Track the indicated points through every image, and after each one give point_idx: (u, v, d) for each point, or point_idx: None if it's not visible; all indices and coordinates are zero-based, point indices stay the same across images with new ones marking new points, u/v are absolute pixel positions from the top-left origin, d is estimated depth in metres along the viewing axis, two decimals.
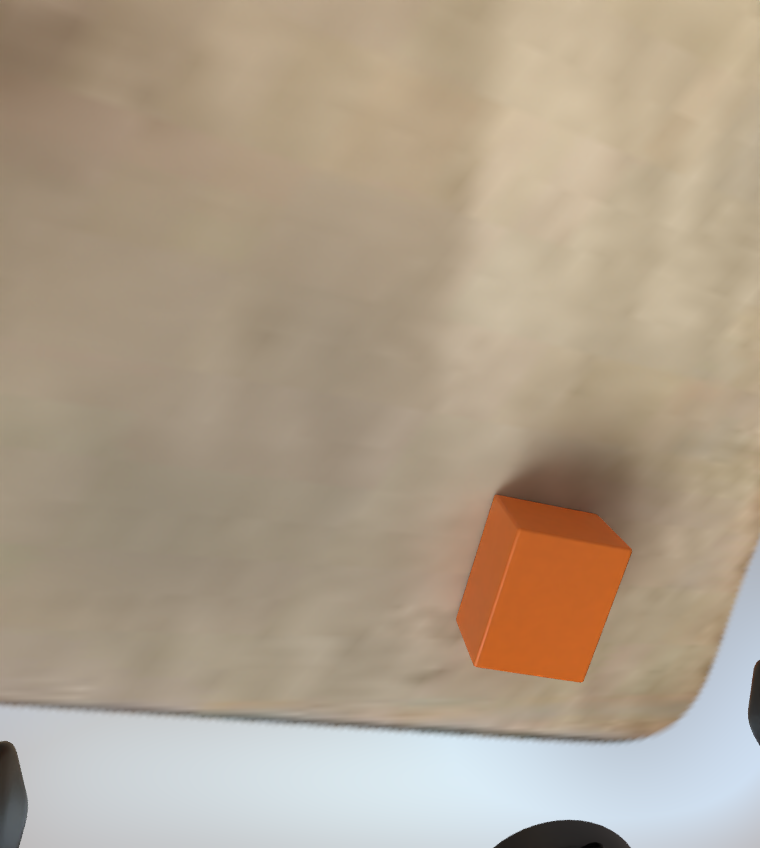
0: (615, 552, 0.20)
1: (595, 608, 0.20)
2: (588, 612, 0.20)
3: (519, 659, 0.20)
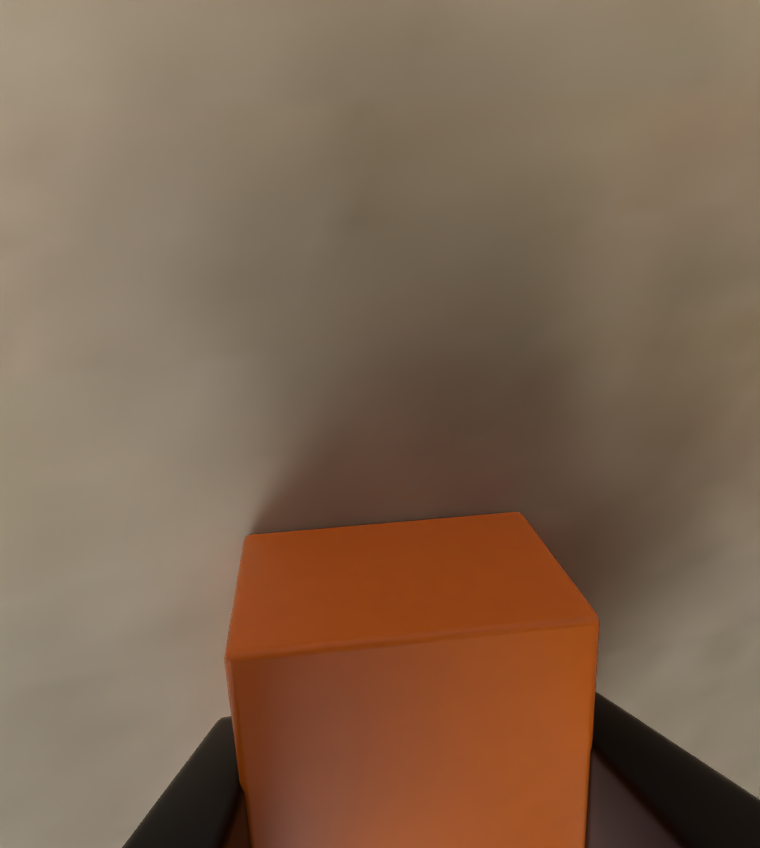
0: (549, 638, 0.07)
1: (544, 794, 0.07)
2: (529, 809, 0.07)
3: None
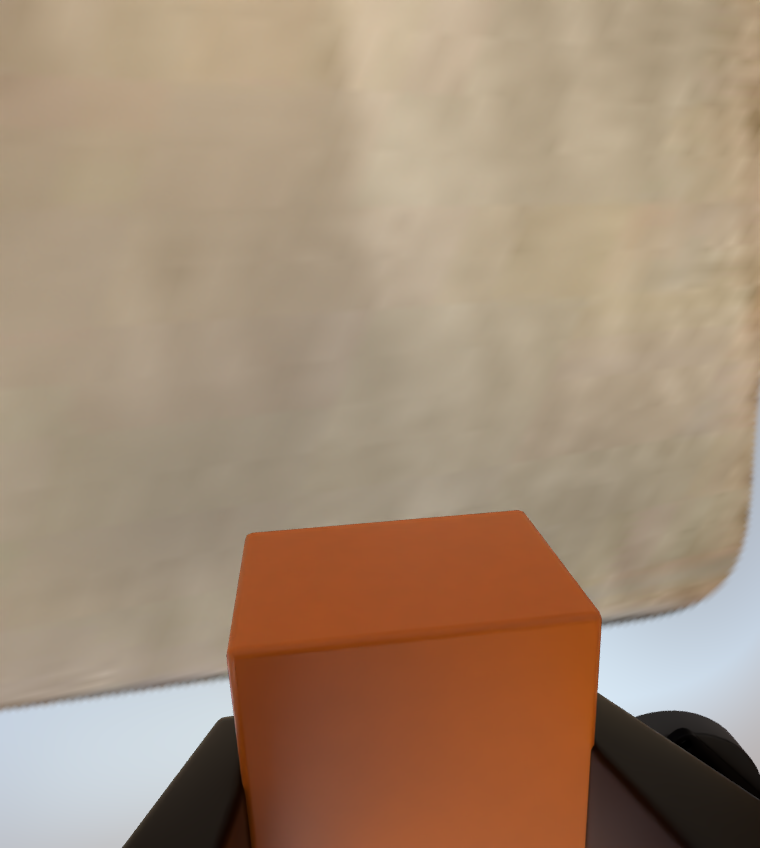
0: (552, 636, 0.06)
1: (546, 794, 0.07)
2: (531, 807, 0.07)
3: None
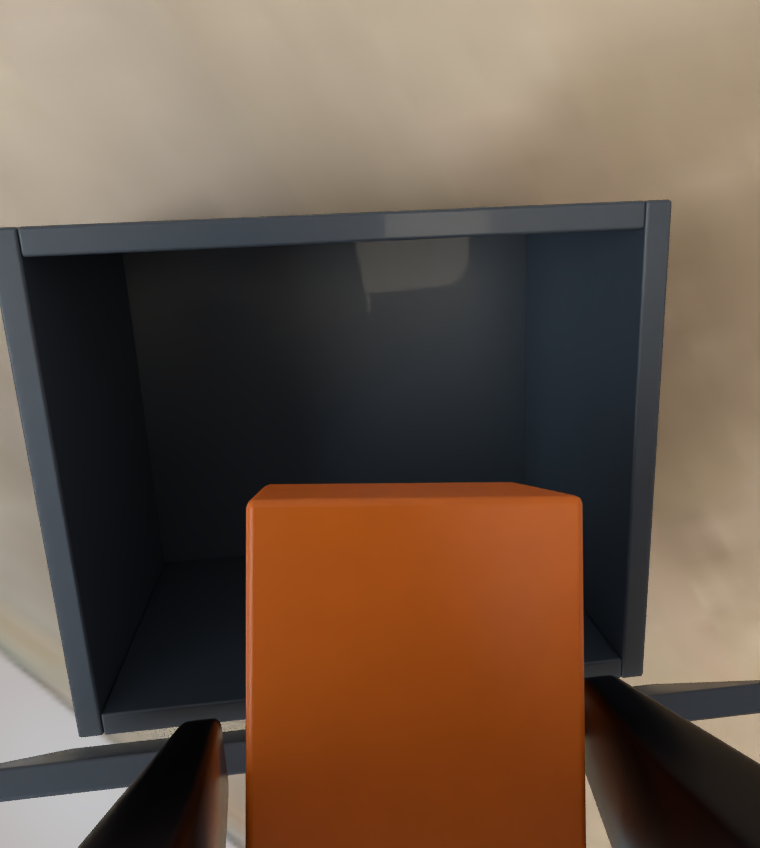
0: (537, 514, 0.07)
1: (540, 691, 0.07)
2: (525, 706, 0.07)
3: None
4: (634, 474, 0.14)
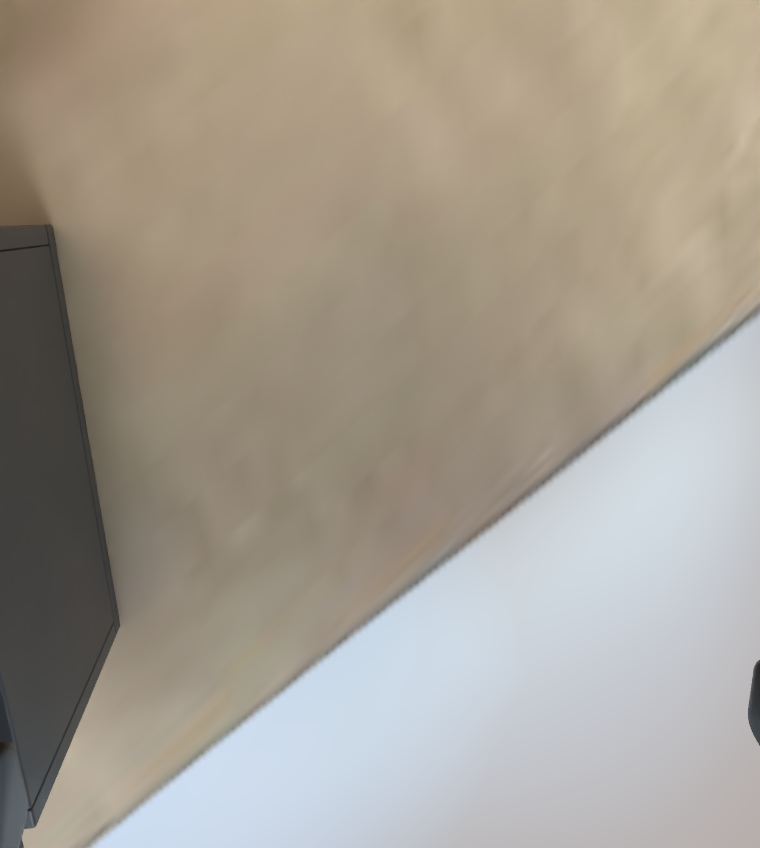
0: None
1: None
2: None
3: None
4: None
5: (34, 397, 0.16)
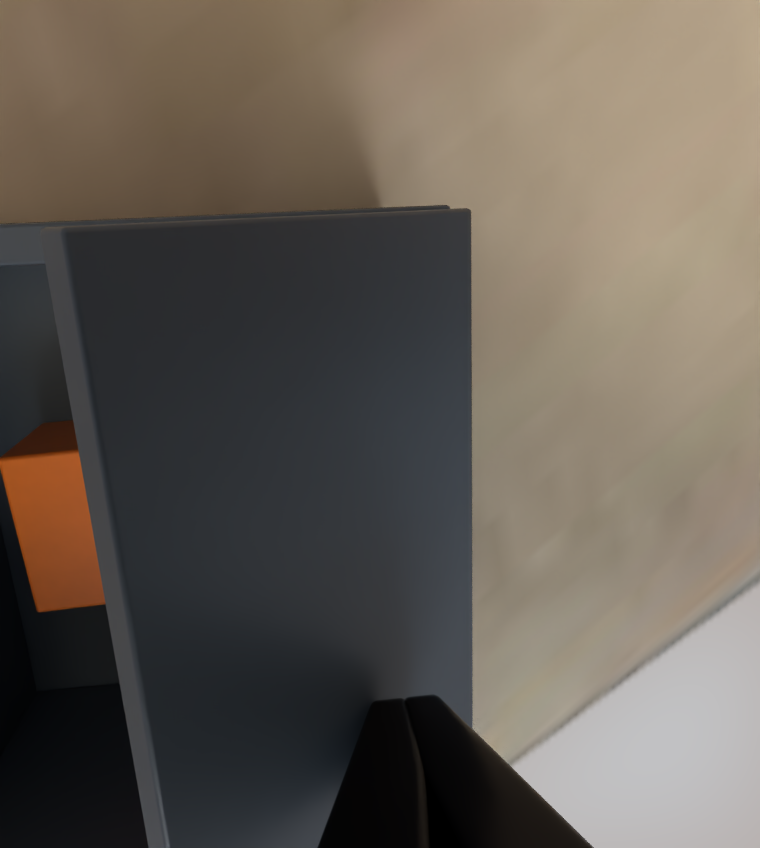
0: None
1: None
2: None
3: None
4: None
5: None
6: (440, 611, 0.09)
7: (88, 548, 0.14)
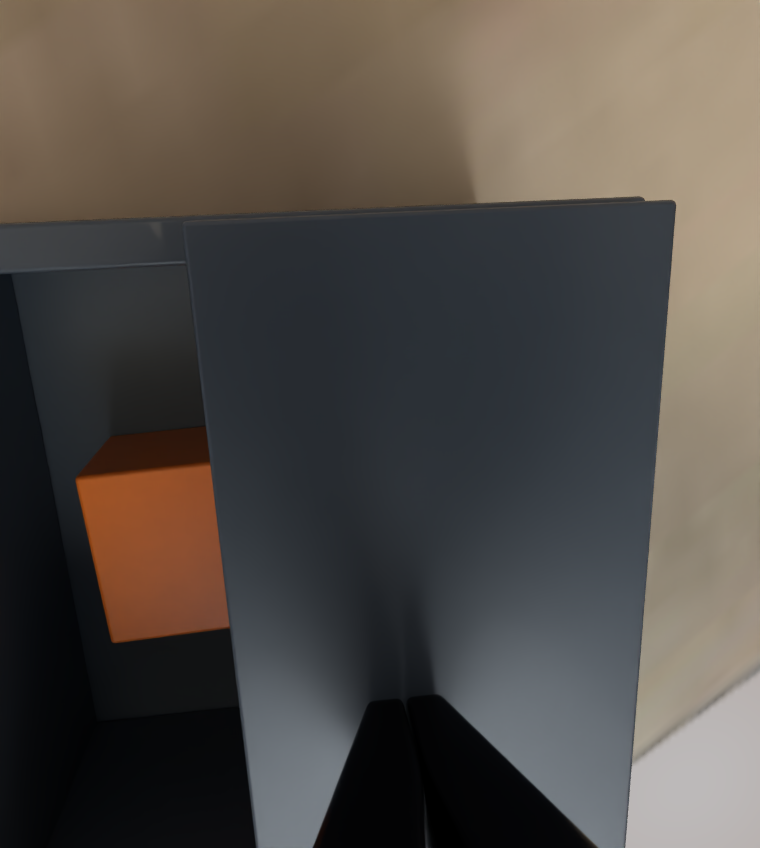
0: None
1: None
2: None
3: None
4: None
5: None
6: (583, 640, 0.08)
7: (169, 574, 0.13)
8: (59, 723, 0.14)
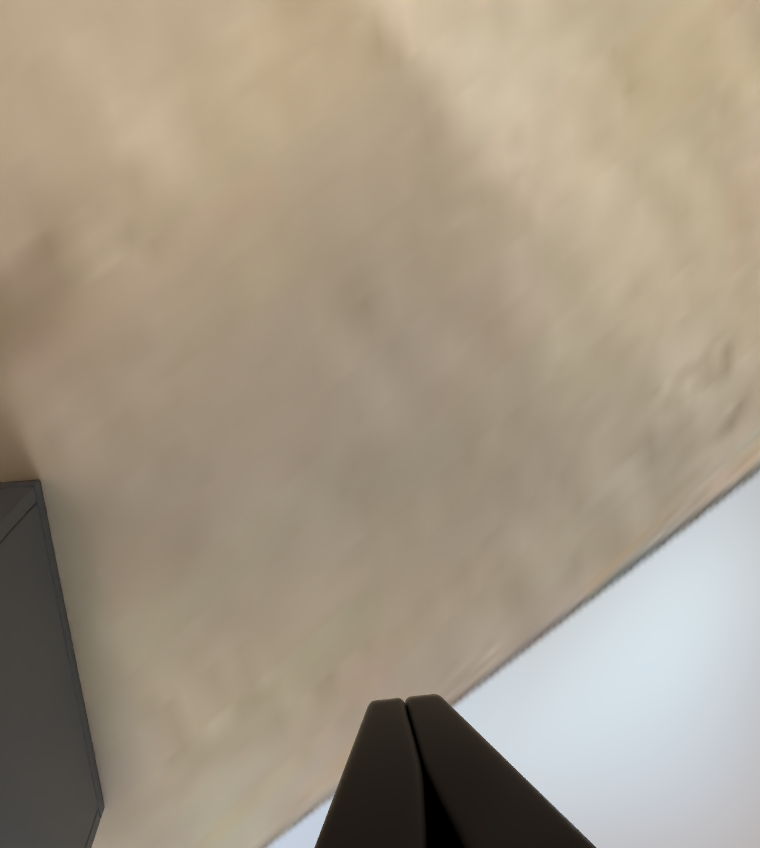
0: None
1: None
2: None
3: None
4: None
5: (22, 661, 0.18)
6: None
7: None
8: None
